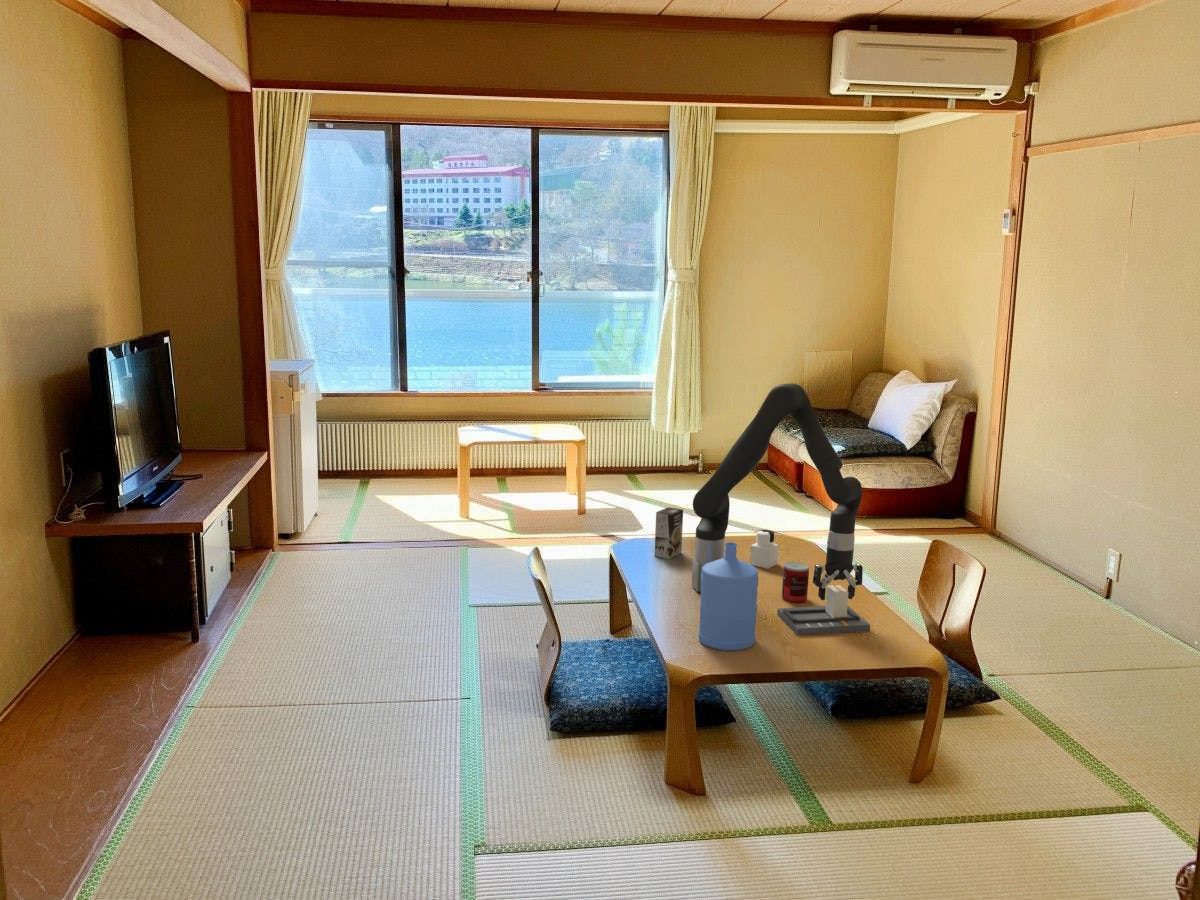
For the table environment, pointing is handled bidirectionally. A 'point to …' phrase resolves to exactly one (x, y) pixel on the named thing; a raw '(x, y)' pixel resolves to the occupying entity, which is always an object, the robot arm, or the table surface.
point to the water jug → (728, 602)
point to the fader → (836, 601)
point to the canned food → (795, 582)
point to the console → (821, 621)
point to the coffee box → (668, 532)
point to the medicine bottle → (764, 550)
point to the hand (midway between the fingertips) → (836, 598)
